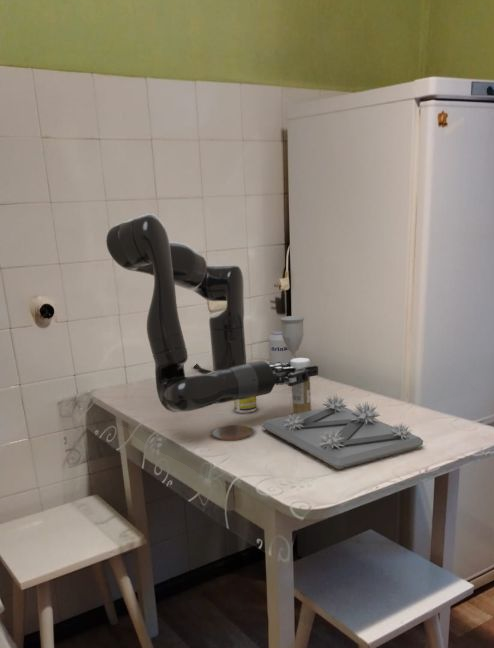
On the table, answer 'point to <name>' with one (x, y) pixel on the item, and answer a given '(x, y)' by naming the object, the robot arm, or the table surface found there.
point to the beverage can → (278, 348)
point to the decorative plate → (343, 434)
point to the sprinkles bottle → (301, 389)
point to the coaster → (232, 432)
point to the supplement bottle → (245, 405)
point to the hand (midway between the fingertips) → (309, 367)
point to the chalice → (292, 332)
